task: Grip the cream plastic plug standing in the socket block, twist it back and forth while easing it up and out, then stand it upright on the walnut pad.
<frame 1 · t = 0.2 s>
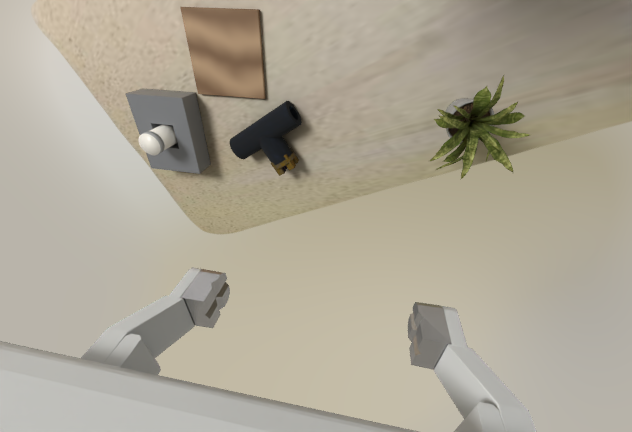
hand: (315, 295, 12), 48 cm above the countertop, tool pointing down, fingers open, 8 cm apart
socket block: (178, 128, 62), on the countertop
pipe connector: (277, 140, 60), on the countertop
house plant: (457, 106, 49), on the countertop
pad: (226, 55, 51), on the countertop
plug: (165, 136, 58), in the socket block
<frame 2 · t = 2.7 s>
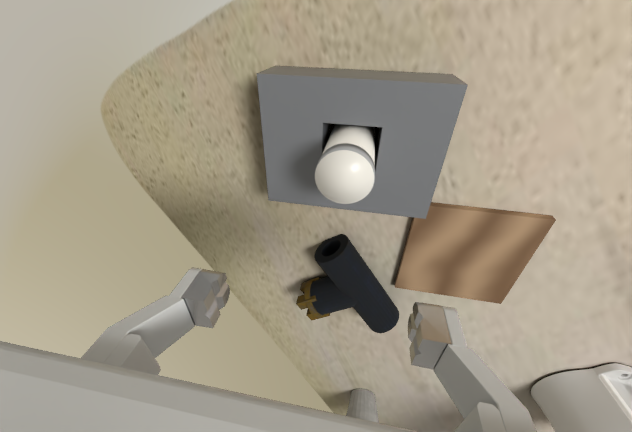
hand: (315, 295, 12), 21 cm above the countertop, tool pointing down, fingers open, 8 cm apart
socket block: (353, 134, 28), on the countertop
pipe connector: (340, 277, 42), on the countertop
house plant: (368, 392, 60), on the countertop
pad: (461, 254, 34), on the countertop
plug: (349, 153, 24), in the socket block
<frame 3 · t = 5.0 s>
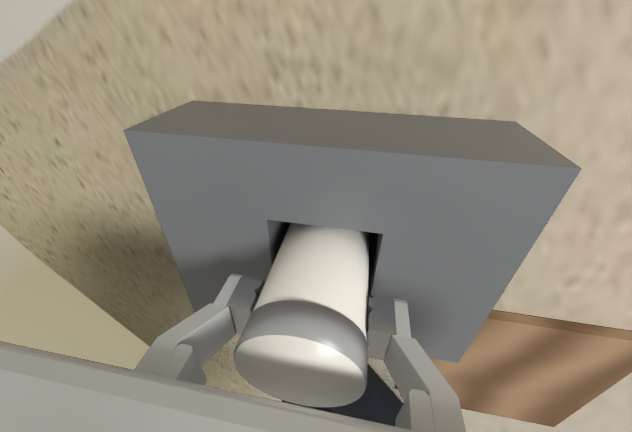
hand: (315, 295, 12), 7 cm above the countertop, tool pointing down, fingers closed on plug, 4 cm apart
socket block: (334, 210, 17), on the countertop
pipe connector: (334, 371, 30), on the countertop
pad: (501, 367, 23), on the countertop
plug: (321, 267, 13), in the socket block, touching gripper
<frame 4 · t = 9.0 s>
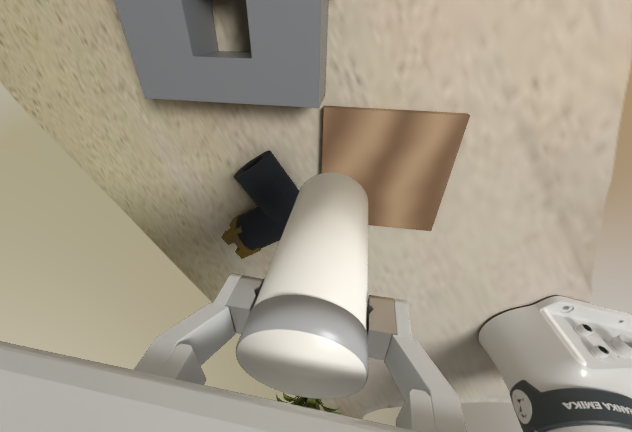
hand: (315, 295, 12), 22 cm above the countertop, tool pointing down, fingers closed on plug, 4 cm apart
socket block: (239, 20, 25), on the countertop
pipe connector: (275, 211, 37), on the countertop
house plant: (320, 356, 57), on the countertop
pad: (382, 172, 31), on the countertop
plug: (320, 261, 13), point 20 cm above the countertop, touching gripper
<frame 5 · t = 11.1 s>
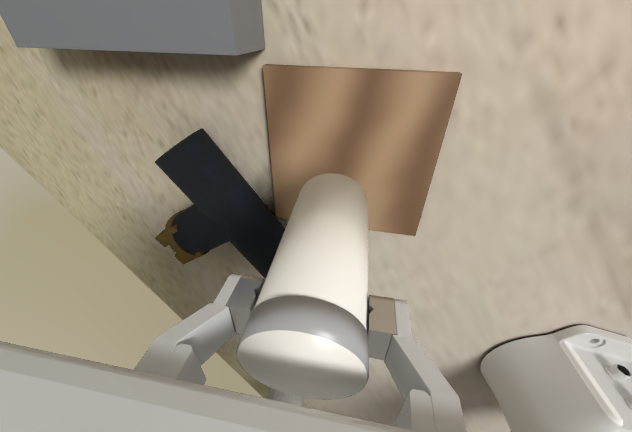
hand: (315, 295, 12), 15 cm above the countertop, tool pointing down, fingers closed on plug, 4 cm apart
pipe connector: (226, 206, 31), on the countertop
house plant: (296, 375, 50), on the countertop
pad: (349, 158, 24), on the countertop
plug: (321, 262, 13), point 13 cm above the countertop, touching gripper
when the fingers open (9 cm above the countertop, at t = 13.0 s): plug drops 1 cm, resting on pad.
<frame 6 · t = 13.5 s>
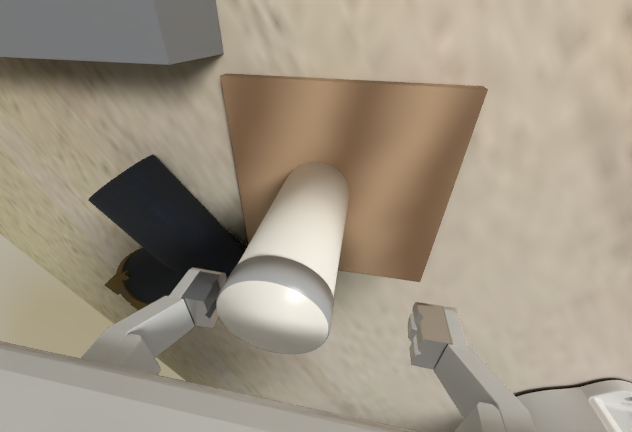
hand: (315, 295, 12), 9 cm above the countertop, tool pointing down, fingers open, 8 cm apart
pipe connector: (193, 242, 26), on the countertop
pad: (338, 190, 19), on the countertop
plug: (300, 239, 14), on the pad, point 6 cm above the countertop
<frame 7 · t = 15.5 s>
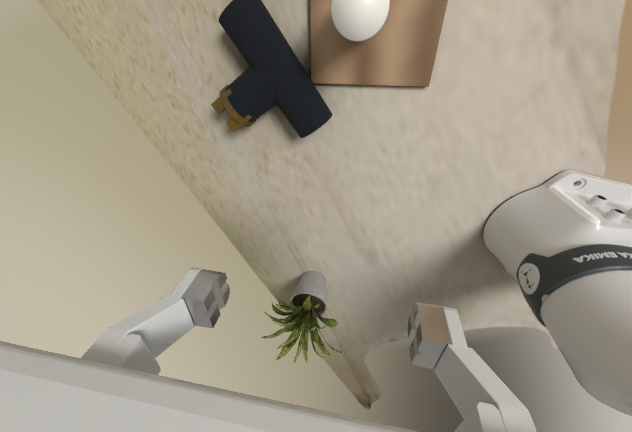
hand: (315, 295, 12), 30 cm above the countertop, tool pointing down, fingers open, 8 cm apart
pipe connector: (267, 84, 36), on the countertop
house plant: (318, 277, 55), on the countertop
pad: (375, 12, 30), on the countertop
plug: (361, 9, 25), on the pad, point 6 cm above the countertop
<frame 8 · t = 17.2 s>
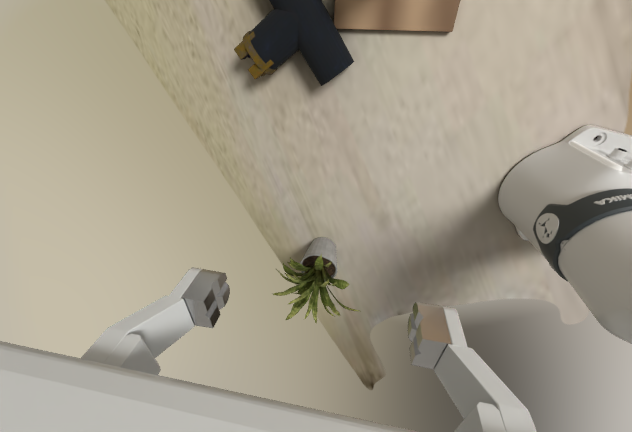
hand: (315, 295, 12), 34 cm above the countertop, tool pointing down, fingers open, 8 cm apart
pipe connector: (288, 33, 36), on the countertop
house plant: (329, 243, 55), on the countertop
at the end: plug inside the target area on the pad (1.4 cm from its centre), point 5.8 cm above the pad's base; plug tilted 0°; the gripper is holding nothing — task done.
